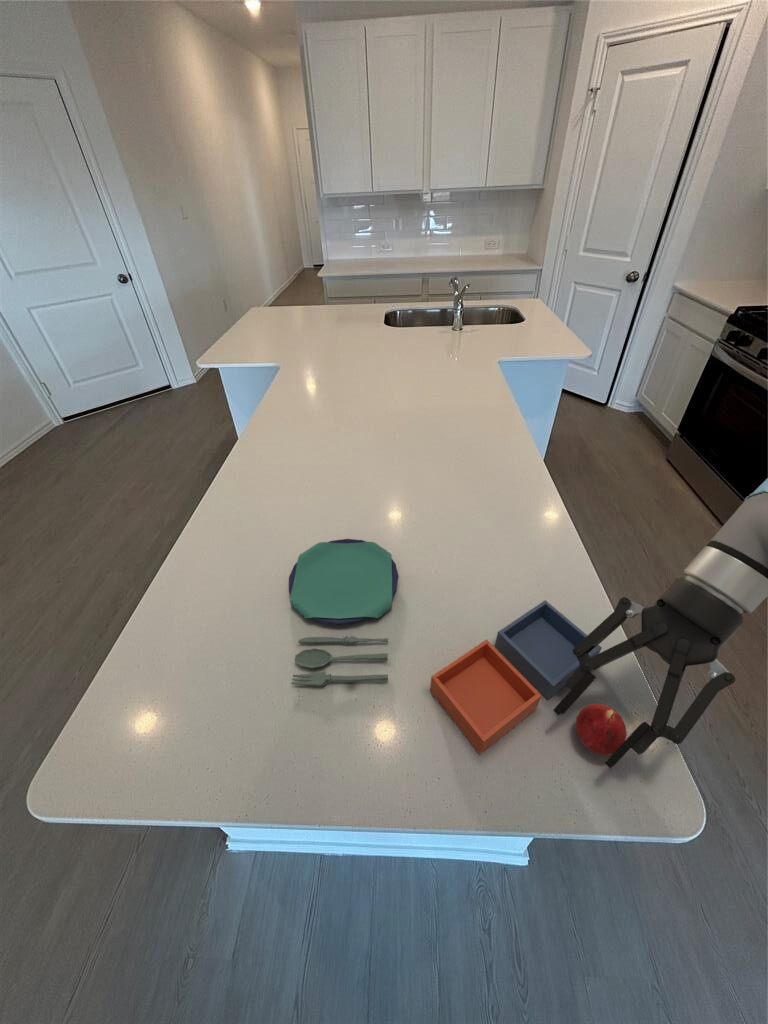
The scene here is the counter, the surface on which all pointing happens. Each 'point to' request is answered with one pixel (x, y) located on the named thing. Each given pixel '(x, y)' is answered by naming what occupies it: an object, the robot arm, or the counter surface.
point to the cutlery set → (341, 598)
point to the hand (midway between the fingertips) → (583, 736)
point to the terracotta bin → (484, 694)
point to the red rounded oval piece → (601, 729)
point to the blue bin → (543, 647)
